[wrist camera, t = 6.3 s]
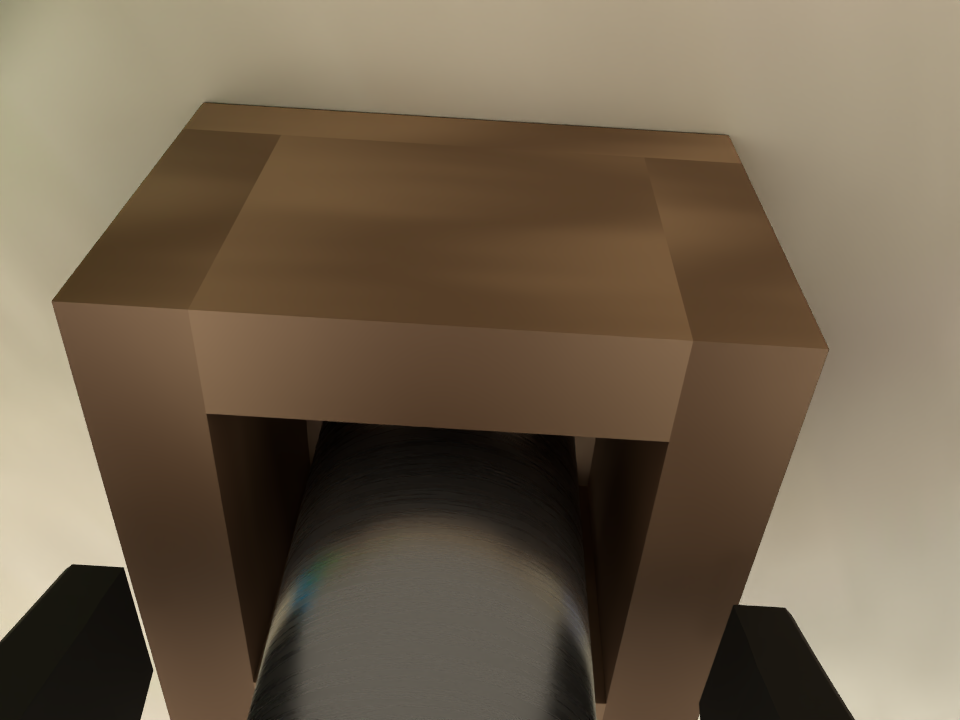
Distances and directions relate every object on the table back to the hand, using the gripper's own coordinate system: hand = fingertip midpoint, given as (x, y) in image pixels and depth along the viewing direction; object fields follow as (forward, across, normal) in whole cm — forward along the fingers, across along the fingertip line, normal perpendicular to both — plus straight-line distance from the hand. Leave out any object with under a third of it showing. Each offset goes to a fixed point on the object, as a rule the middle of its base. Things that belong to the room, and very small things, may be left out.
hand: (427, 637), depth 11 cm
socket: (+6, 0, 0) cm, 6 cm away
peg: (+5, 0, 0) cm, 5 cm away
